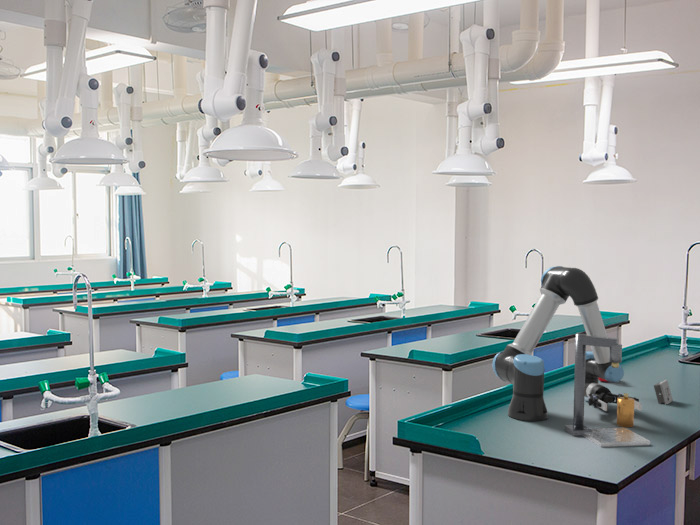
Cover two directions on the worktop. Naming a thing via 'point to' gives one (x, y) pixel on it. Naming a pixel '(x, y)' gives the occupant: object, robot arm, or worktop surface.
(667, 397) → the electrical switch
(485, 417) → the worktop surface
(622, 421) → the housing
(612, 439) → the arbor press
